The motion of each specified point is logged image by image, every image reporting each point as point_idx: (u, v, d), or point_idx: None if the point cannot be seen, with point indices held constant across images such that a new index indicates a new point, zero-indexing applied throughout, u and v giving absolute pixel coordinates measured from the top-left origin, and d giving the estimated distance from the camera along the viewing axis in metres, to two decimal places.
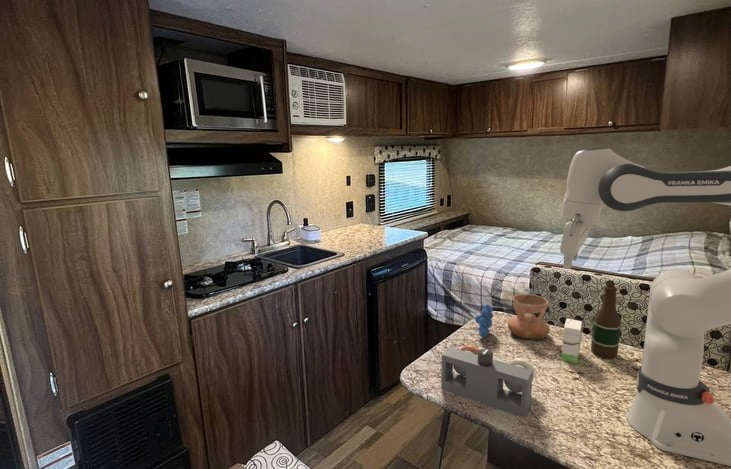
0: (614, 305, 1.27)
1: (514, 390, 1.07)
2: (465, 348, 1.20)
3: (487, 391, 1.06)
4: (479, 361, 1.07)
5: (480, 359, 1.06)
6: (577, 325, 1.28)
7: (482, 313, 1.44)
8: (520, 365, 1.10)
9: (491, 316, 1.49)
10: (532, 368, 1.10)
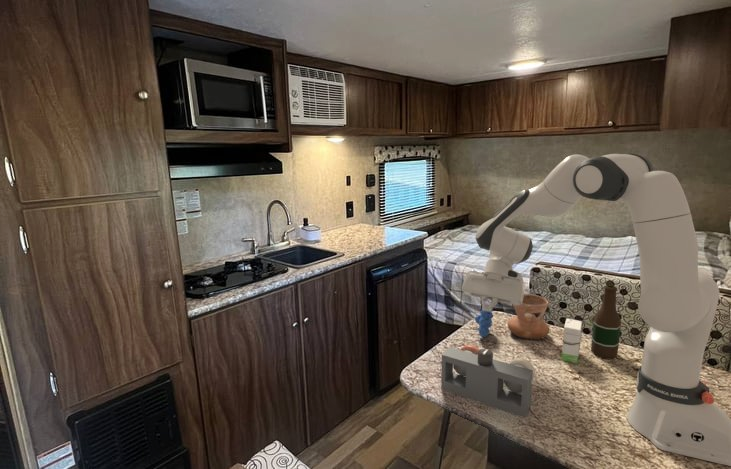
0: (614, 305, 1.27)
1: (514, 390, 1.07)
2: (465, 348, 1.20)
3: (487, 391, 1.06)
4: (479, 361, 1.07)
5: (480, 359, 1.06)
6: (577, 325, 1.28)
7: (482, 313, 1.44)
8: (520, 365, 1.10)
9: (491, 316, 1.49)
10: (532, 368, 1.10)
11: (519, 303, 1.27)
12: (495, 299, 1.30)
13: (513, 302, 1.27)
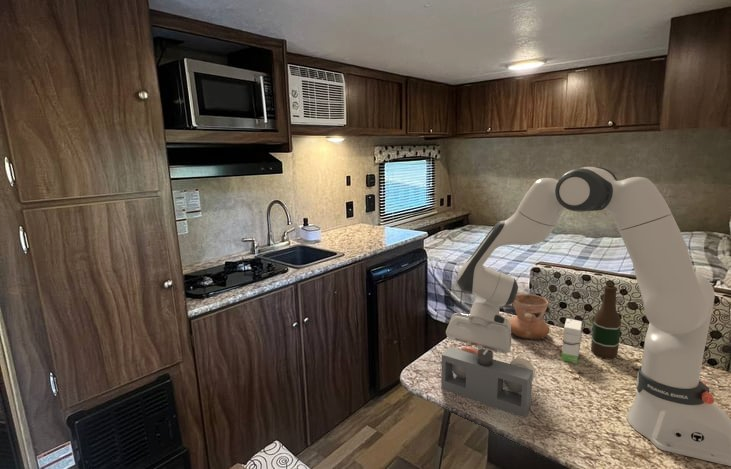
0: (614, 305, 1.27)
1: (514, 390, 1.07)
2: (464, 350, 1.19)
3: (487, 391, 1.06)
4: (479, 361, 1.07)
5: (480, 359, 1.06)
6: (577, 325, 1.28)
7: None
8: (520, 365, 1.10)
9: None
10: (532, 368, 1.10)
11: (506, 352, 1.18)
12: (480, 346, 1.21)
13: (499, 350, 1.18)
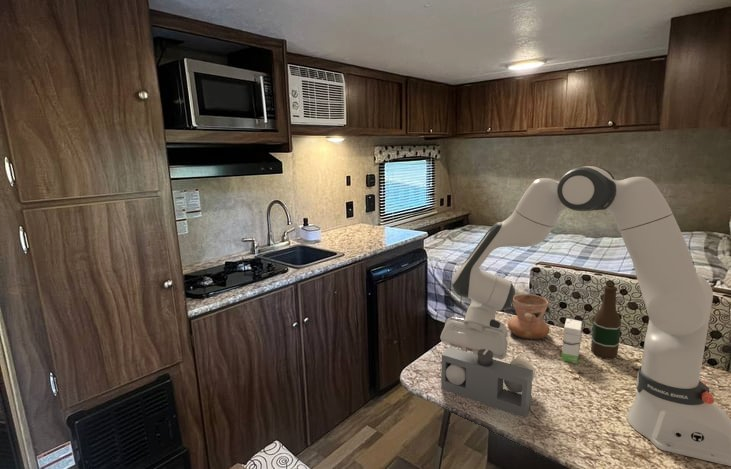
0: (614, 305, 1.27)
1: (514, 390, 1.07)
2: None
3: (487, 391, 1.06)
4: (479, 361, 1.07)
5: (480, 359, 1.06)
6: (577, 325, 1.28)
7: None
8: (520, 365, 1.10)
9: None
10: (532, 368, 1.10)
11: (502, 357, 1.14)
12: (476, 352, 1.18)
13: (495, 356, 1.15)
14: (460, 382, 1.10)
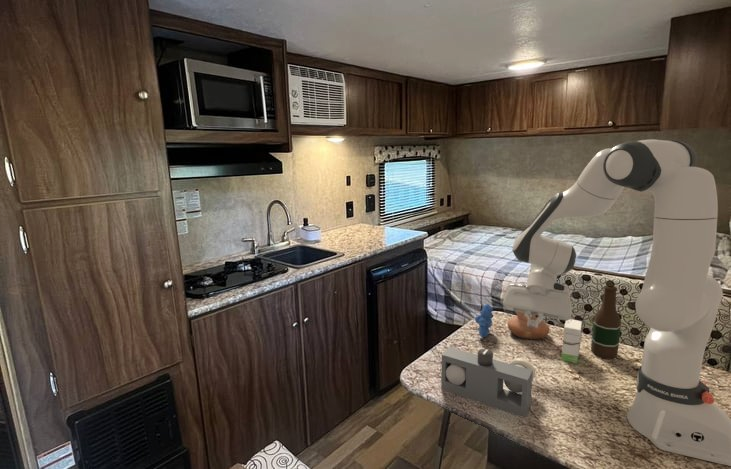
0: (614, 305, 1.27)
1: (514, 390, 1.07)
2: None
3: (487, 391, 1.06)
4: (479, 361, 1.07)
5: (480, 359, 1.06)
6: (577, 325, 1.28)
7: (482, 313, 1.44)
8: (520, 365, 1.10)
9: (491, 316, 1.49)
10: (532, 368, 1.10)
11: (568, 318, 1.19)
12: (541, 314, 1.22)
13: (561, 317, 1.19)
14: (460, 382, 1.10)
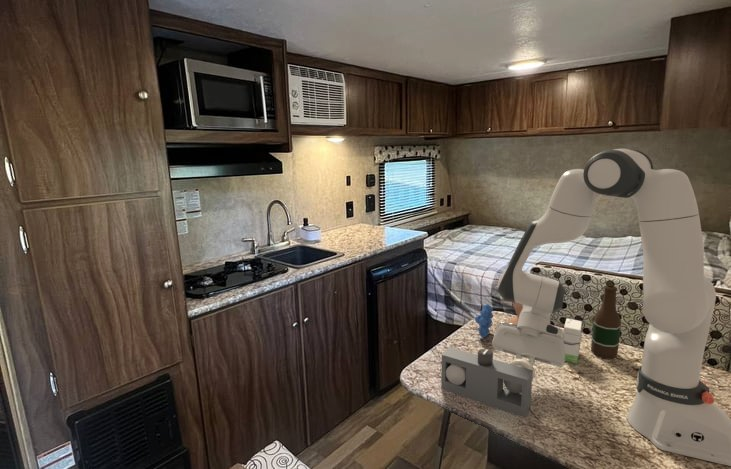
0: (614, 305, 1.27)
1: (514, 391, 1.07)
2: None
3: (487, 391, 1.06)
4: (479, 361, 1.07)
5: (480, 359, 1.06)
6: (577, 325, 1.28)
7: (482, 313, 1.44)
8: (520, 366, 1.10)
9: (491, 316, 1.49)
10: (532, 369, 1.09)
11: (561, 365, 1.10)
12: (532, 359, 1.13)
13: (554, 363, 1.10)
14: (460, 382, 1.10)
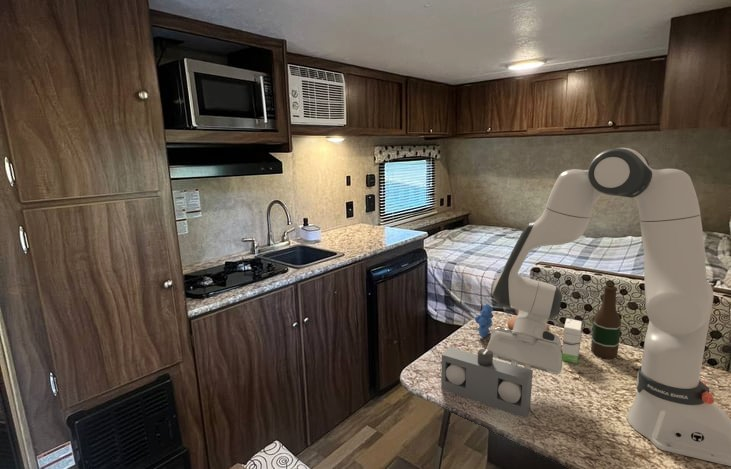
0: (614, 305, 1.27)
1: (508, 400, 1.03)
2: None
3: (487, 391, 1.06)
4: (479, 361, 1.07)
5: (480, 359, 1.06)
6: (576, 325, 1.28)
7: (482, 313, 1.44)
8: None
9: (491, 316, 1.49)
10: None
11: (558, 373, 1.06)
12: (528, 366, 1.09)
13: (550, 371, 1.07)
14: (460, 382, 1.10)
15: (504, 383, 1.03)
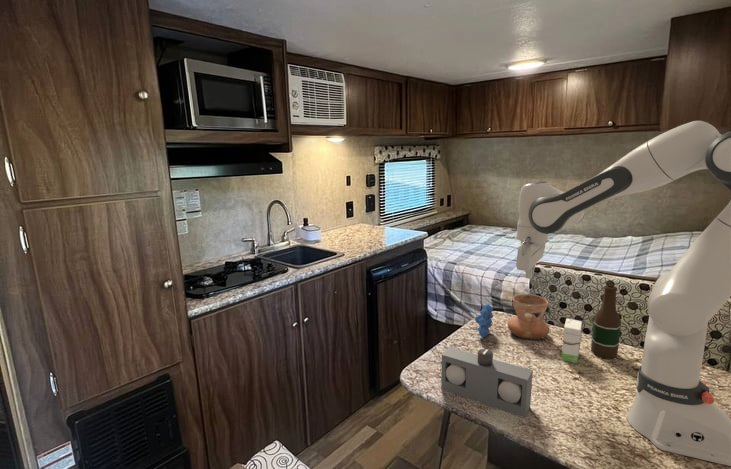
0: (614, 305, 1.27)
1: (508, 400, 1.03)
2: None
3: (487, 391, 1.06)
4: (479, 361, 1.07)
5: (480, 359, 1.06)
6: (577, 325, 1.28)
7: (482, 313, 1.44)
8: None
9: (491, 316, 1.49)
10: None
11: None
12: (535, 263, 1.23)
13: None
14: (460, 382, 1.10)
15: (504, 383, 1.03)
